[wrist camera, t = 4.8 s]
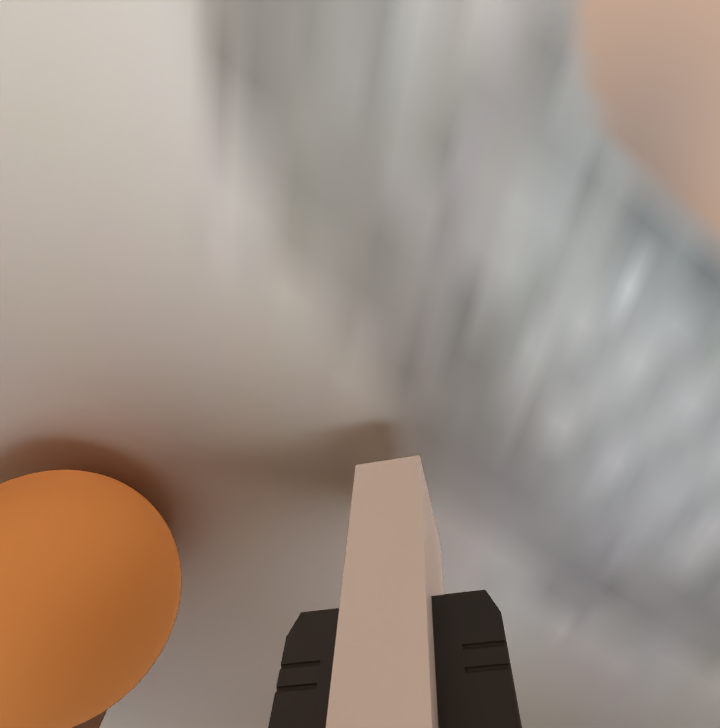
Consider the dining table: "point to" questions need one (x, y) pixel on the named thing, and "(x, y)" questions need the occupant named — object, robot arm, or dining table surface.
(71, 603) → the ball
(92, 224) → the dining table surface
